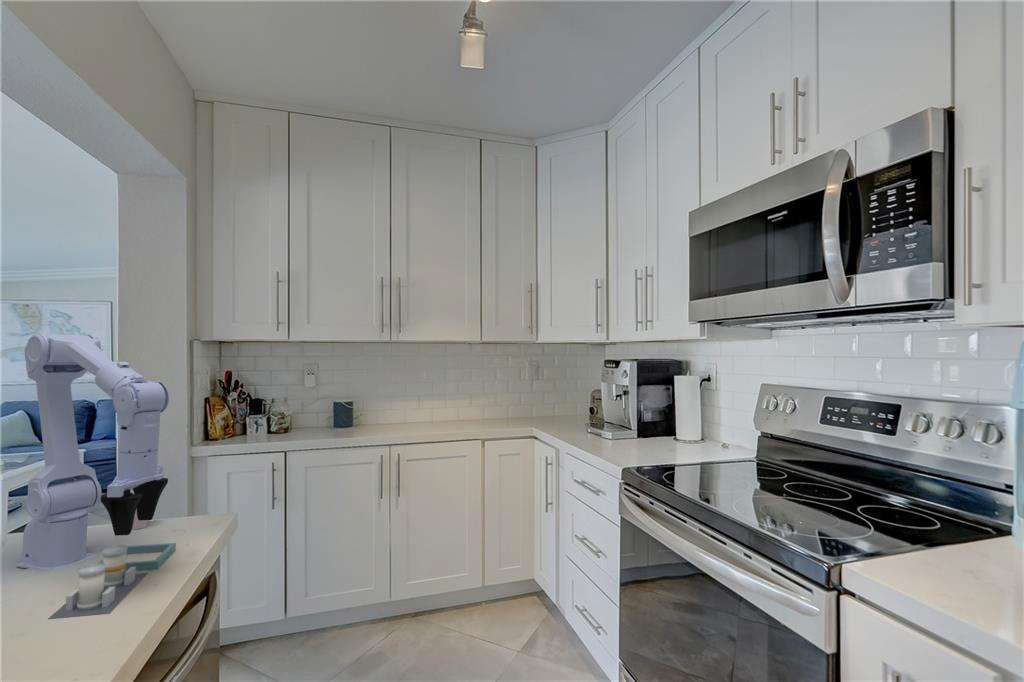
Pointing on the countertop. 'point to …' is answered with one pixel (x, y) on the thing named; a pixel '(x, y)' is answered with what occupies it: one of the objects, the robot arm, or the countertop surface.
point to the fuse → (91, 586)
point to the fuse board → (109, 598)
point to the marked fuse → (115, 565)
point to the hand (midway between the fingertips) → (134, 526)
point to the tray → (150, 548)
